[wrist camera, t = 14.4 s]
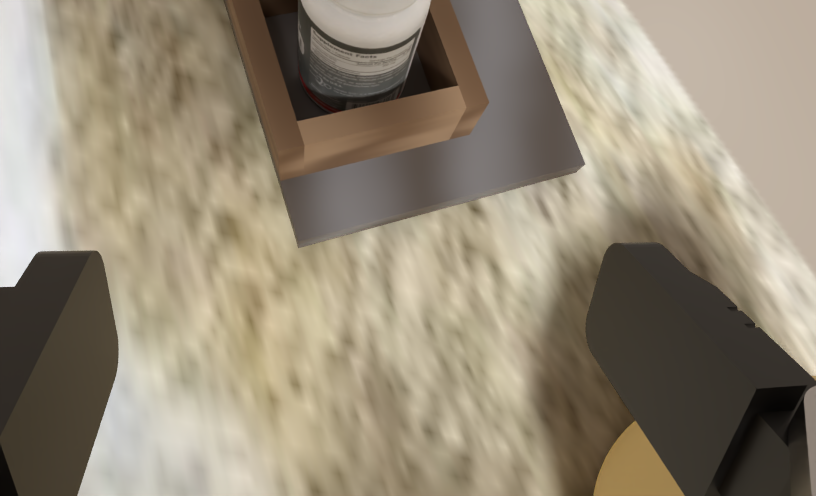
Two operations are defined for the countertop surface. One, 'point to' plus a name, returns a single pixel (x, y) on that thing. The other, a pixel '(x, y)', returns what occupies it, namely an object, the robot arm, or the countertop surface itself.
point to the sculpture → (635, 468)
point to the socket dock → (408, 120)
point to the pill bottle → (357, 49)
